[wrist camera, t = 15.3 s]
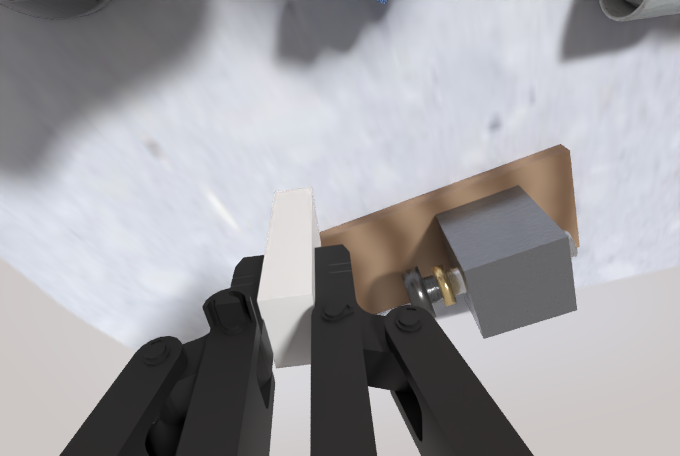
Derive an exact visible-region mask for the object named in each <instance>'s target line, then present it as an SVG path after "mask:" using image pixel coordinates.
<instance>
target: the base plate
mask: <svg viewBox="0 0 680 456" xmlns="http://www.w3.org/2000/svg"><path fill="white" fill-rule="evenodd" d="M517 185H519V186H520V187H521V188H522V189H523V190H524V191H525V192H526V193H527V194H528V195H529V196H530V197H531V198H532V199H533V200H534V201H535V202H536V203H537V204H538V205H539V206H540V207H541V208H542V209H543V210H544V212H545V213H546V214H547V215H548V216H549V217H550V218H551V219H552V220H553V221H554V222H555V223H556V224H557V225H558V226H559V227H560V228H561V229H562V230H563V231H564V230H566V231H567V232H569V234H570V235H571V236H572V238H573V240H574V242H575V244H576V247H579V237H578V227H577V217H576V207H575V197H574V187H573V178H572V168H571V158H570V150H568V149H567V148H565V147H564V146H563V145H561V144H560V145H557V146H554V147H551V148H549V149H546V150H543V151H541V152H538V153H535V154H532V155H530V156H527V157H524V158H521V159H519V160H516V161H513V162H511V163H508V164H505V165H502V166H500V167H497V168H494V169H491V170H489V171H486V172H483V173H481V174H478V175H475V176H472V177H470V178H467V179H464V180H461V181H459V182H456V183H453V184H451V185H448V186H445V187H442V188H440V189H437V190H434V191H431V192H429V193H426V194H423V195H421V196H418V197H415V198H412V199H410V200H407V201H404V202H401V203H399V204H396V205H393V206H391V207H388V208H385V209H382V210H380V211H377V212H374V213H371V214H369V215H366V216H363V217H361V218H358V219H355V220H352V221H350V222H347V223H344V224H341V225H339V226H336V227H333V228H331V229H328V230H325V231H322V232H320V233H319V235H320V241H321V247H324V246H332V245H339V244H343V245H344V246H345V247H346V248H347V250H348V251H349V252H350V259H351V266H352V273H353V281H354V288H355V295H356V300H357V303H358V305H359V306H360V307H361V308H362V309H363V310H365V311H366V312H369V313H371V314H377V313H380V312H383V311H386V310H389V309H392V308H395V307H398V306H401V305H404V304H407V303H410V300H409V297H408V294H407V291H406V288H405V285H404V282H403V279H402V275H401V271H403V270H406V269H409V268H412V267H415V266H418V268H419V271H420V274H421V276H422V278H424V277H427V276H430V275H433V271H432V268H431V267H434V266H437V265H440V264H442V265H443V267H444V269H445V270H448V269H451V268H452V267H451V264H450V261H449V257H448V254H447V251H446V248H445V245H444V242H443V238H442V235H441V232H440V229H439V226H438V222H437V219H436V216H435V215H436V214H439V213H441V212H444V211H447V210H450V209H453V208H455V207H458V206H461V205H464V204H467V203H469V202H472V201H475V200H478V199H481V198H483V197H486V196H489V195H492V194H495V193H497V192H500V191H503V190H506V189H508V188H511V187H514V186H517Z"/></svg>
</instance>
